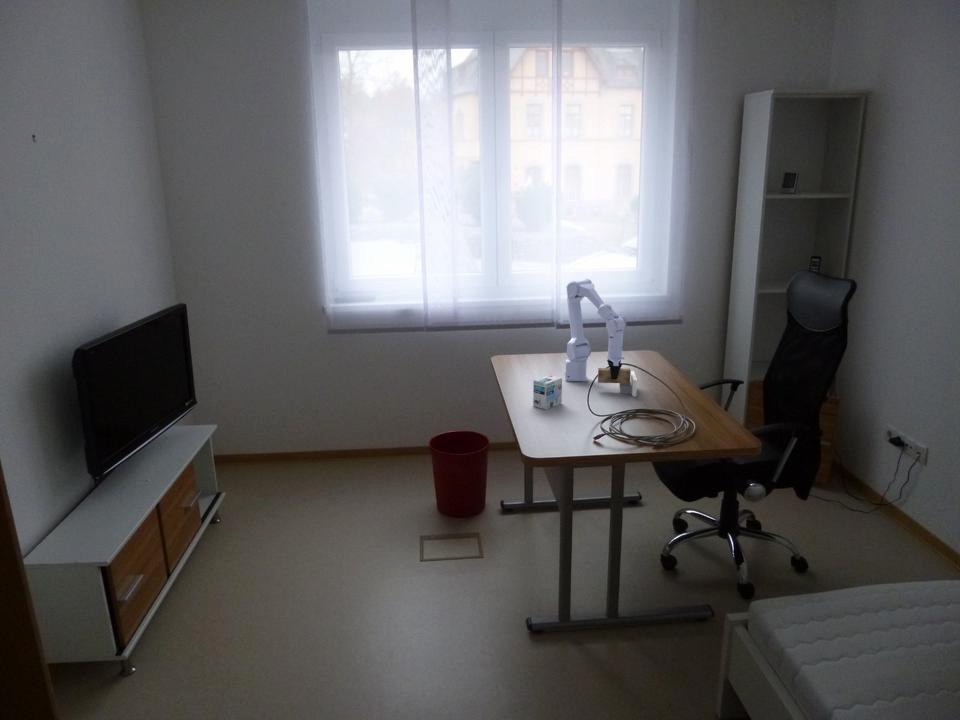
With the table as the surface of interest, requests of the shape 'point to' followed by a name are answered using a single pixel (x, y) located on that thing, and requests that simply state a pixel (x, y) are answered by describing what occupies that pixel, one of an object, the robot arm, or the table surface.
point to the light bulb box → (547, 392)
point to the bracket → (629, 386)
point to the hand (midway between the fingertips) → (613, 377)
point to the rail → (605, 377)
